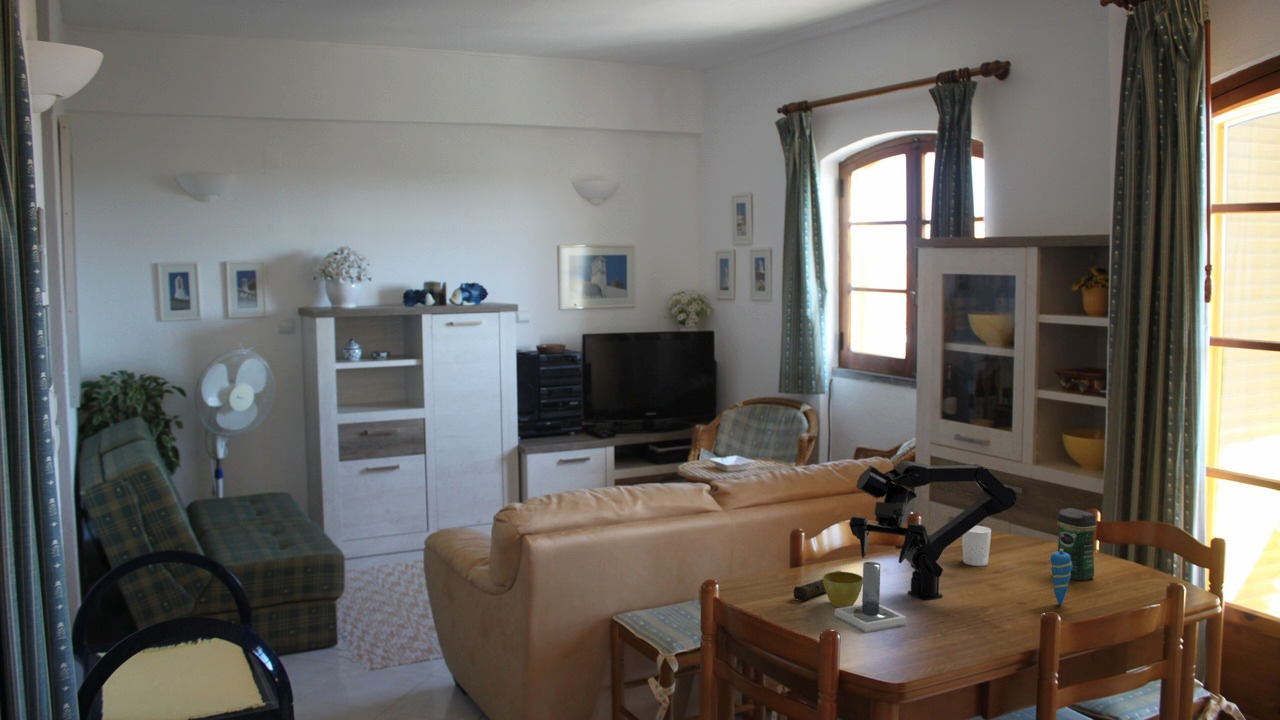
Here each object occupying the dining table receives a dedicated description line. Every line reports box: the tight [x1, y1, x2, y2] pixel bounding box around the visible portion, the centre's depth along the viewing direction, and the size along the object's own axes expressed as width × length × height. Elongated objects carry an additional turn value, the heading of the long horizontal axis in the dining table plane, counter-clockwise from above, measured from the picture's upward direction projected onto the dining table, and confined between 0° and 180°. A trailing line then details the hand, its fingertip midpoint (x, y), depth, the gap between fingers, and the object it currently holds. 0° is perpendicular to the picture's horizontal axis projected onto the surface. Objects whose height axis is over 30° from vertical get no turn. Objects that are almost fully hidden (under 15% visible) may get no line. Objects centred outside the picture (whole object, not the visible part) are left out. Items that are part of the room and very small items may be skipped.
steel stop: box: [853, 561, 888, 623], centre depth 248 cm, size 8×8×14 cm
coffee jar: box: [1056, 507, 1097, 581], centre depth 285 cm, size 10×8×19 cm
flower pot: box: [822, 571, 863, 608], centre depth 260 cm, size 10×10×7 cm
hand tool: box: [793, 570, 842, 602], centre depth 269 cm, size 19×4×5 cm, turn 130°
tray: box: [834, 603, 907, 634], centre depth 249 cm, size 12×12×2 cm
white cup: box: [961, 525, 992, 567], centre depth 297 cm, size 8×8×10 cm
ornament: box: [1050, 548, 1073, 606], centre depth 261 cm, size 5×5×15 cm
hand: (881, 559), depth 255 cm, fingers open, 9 cm apart
